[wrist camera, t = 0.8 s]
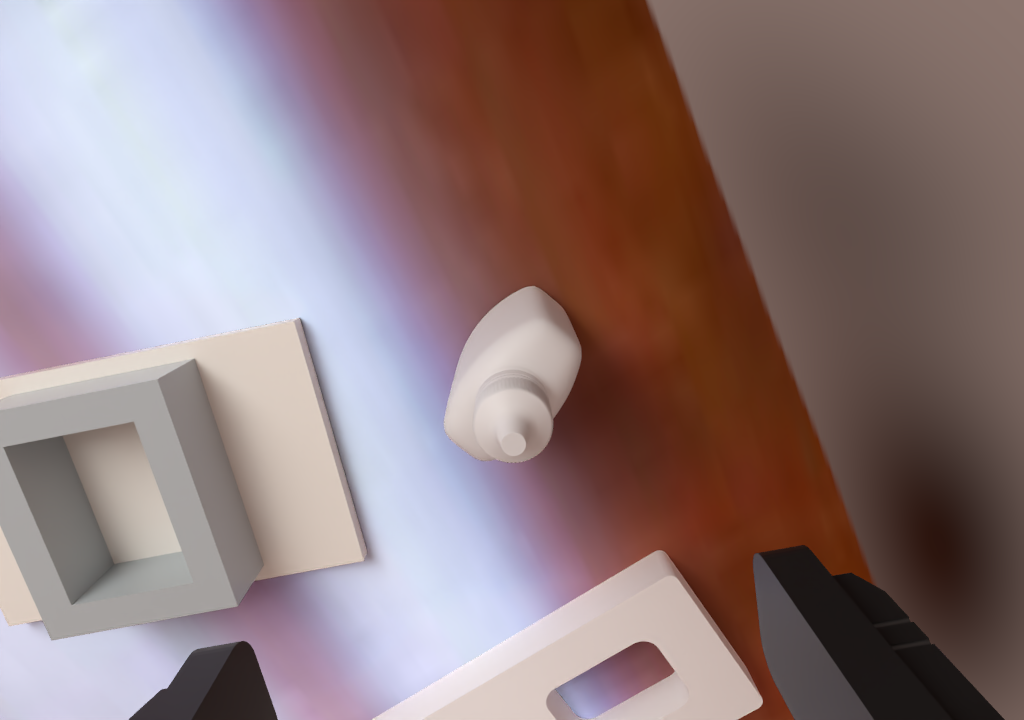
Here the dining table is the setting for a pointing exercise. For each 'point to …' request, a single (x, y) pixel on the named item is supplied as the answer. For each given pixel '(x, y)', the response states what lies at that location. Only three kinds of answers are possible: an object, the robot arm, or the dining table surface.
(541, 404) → the eye dropper bottle
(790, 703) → the robot arm
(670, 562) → the holder
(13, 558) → the holder stand
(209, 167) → the dining table surface
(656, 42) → the dining table surface
